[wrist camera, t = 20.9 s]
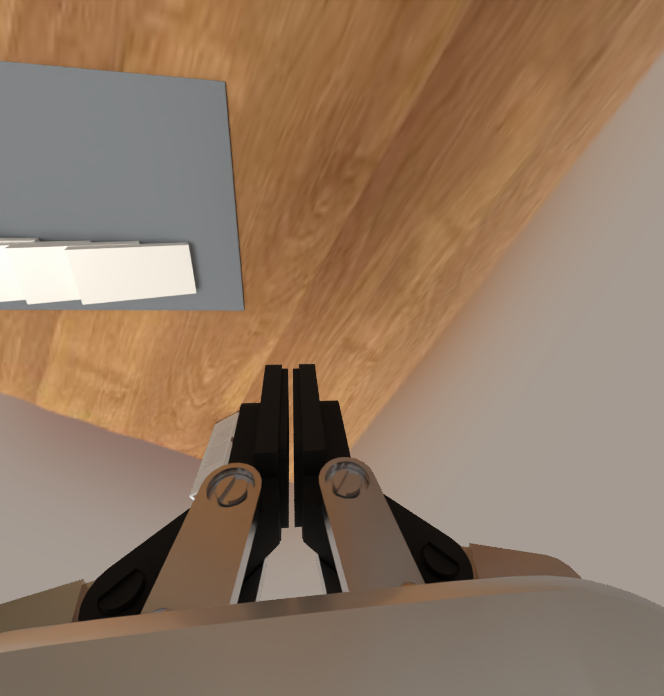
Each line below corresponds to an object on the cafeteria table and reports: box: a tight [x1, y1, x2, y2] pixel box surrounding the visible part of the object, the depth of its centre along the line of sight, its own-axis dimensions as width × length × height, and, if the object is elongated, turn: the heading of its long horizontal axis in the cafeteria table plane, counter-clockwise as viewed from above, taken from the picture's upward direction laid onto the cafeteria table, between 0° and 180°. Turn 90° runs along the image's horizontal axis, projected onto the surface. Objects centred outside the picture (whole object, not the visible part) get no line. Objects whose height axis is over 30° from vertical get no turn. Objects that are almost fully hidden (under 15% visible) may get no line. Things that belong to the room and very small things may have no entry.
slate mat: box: [0, 61, 244, 311], centre depth 31 cm, size 26×21×1 cm
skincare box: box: [189, 412, 239, 500], centre depth 41 cm, size 6×4×12 cm
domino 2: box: [4, 241, 140, 304], centre depth 31 cm, size 2×5×10 cm
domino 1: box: [0, 240, 91, 302], centre depth 30 cm, size 2×5×10 cm
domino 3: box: [64, 242, 196, 305], centre depth 31 cm, size 2×5×10 cm
